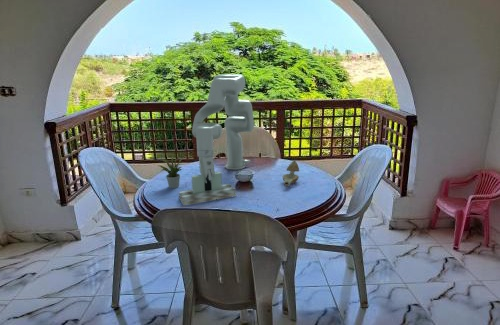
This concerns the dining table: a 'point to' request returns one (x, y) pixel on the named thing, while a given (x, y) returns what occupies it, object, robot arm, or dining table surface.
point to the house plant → (172, 173)
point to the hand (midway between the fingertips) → (207, 189)
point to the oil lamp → (291, 174)
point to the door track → (206, 195)
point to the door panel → (199, 183)
